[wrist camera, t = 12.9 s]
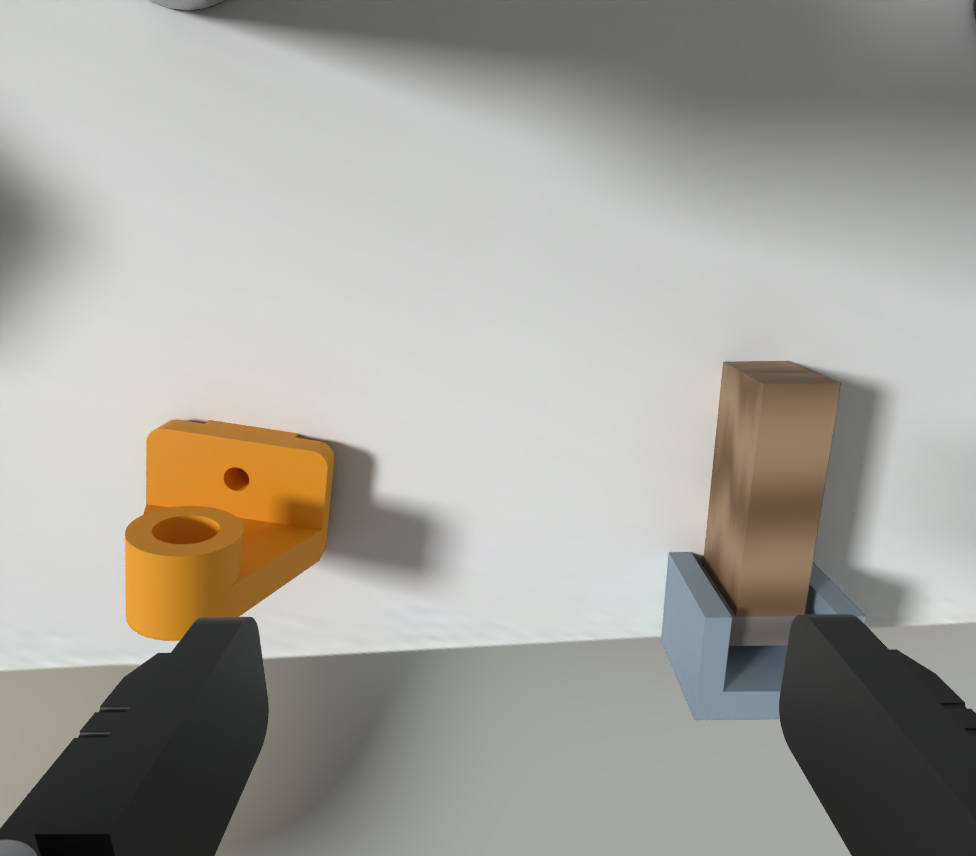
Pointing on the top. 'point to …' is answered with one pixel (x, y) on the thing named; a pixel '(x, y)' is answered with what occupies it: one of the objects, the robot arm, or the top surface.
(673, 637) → the grey u-channel
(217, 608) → the bracket
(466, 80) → the top surface
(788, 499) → the rail
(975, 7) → the supplement bottle
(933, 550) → the top surface
